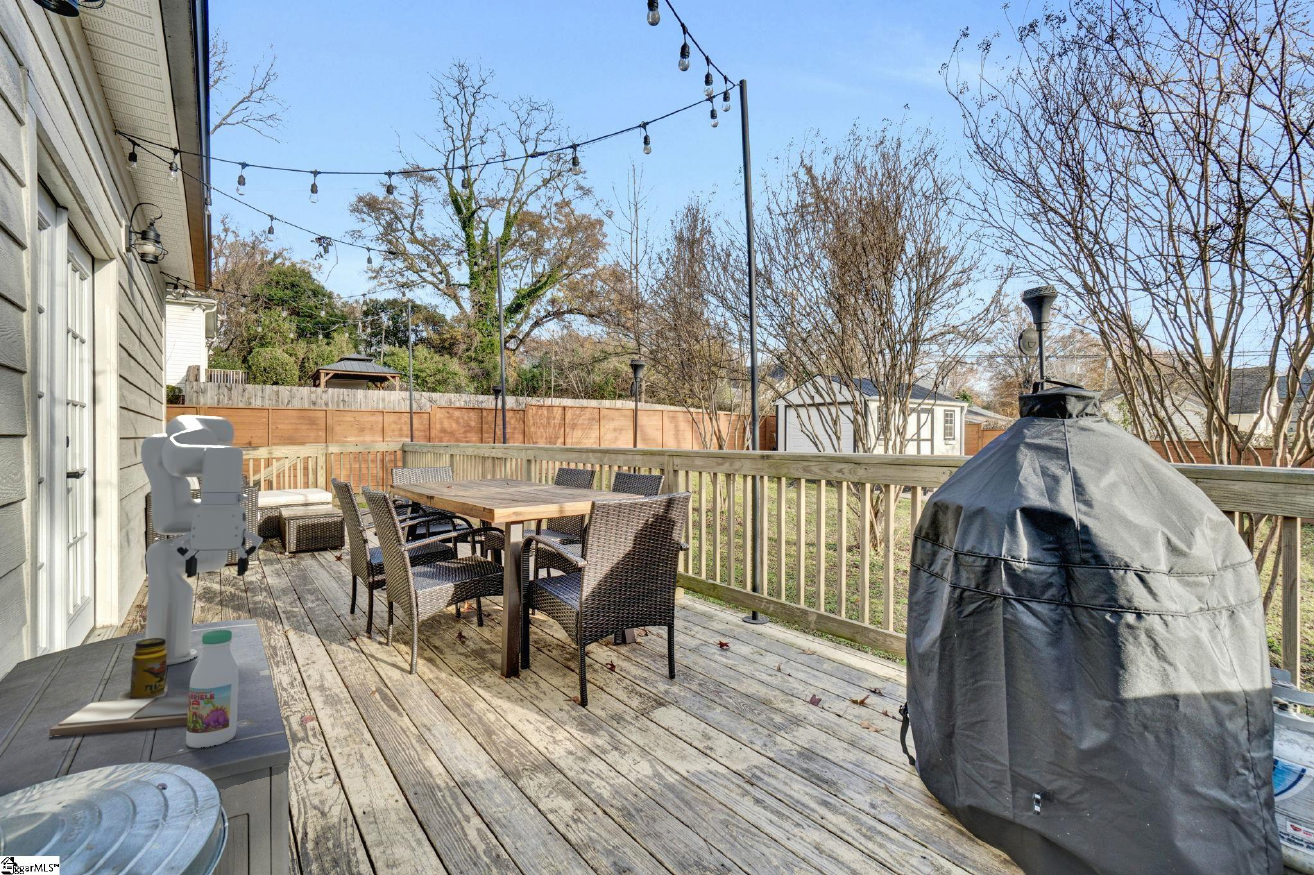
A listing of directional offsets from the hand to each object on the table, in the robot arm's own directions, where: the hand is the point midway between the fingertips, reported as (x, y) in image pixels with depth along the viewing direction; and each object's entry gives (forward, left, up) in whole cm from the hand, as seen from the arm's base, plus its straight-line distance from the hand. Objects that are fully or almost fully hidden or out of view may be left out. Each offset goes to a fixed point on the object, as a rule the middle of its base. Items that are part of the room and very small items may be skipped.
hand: (216, 575), depth 140 cm
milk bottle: (+26, +9, -27) cm, 38 cm away
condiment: (-4, -14, -27) cm, 31 cm away
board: (+10, -8, -27) cm, 29 cm away
